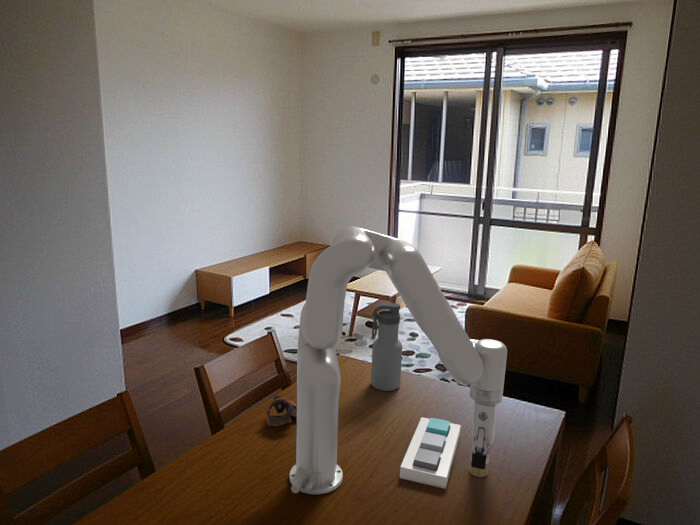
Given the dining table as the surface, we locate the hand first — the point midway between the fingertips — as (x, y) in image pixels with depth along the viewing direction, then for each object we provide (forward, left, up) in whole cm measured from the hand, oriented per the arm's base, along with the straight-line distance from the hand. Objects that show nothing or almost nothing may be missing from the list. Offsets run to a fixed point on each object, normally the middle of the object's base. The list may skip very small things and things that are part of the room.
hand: (479, 457), depth 126 cm
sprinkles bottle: (0, 0, -4) cm, 4 cm away
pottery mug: (+3, +55, -4) cm, 55 cm away
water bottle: (+37, +34, -4) cm, 50 cm away
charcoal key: (-5, +12, -2) cm, 13 cm away
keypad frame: (+3, +12, -4) cm, 13 cm away
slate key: (+3, +12, -2) cm, 13 cm away
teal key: (+11, +12, -2) cm, 16 cm away
